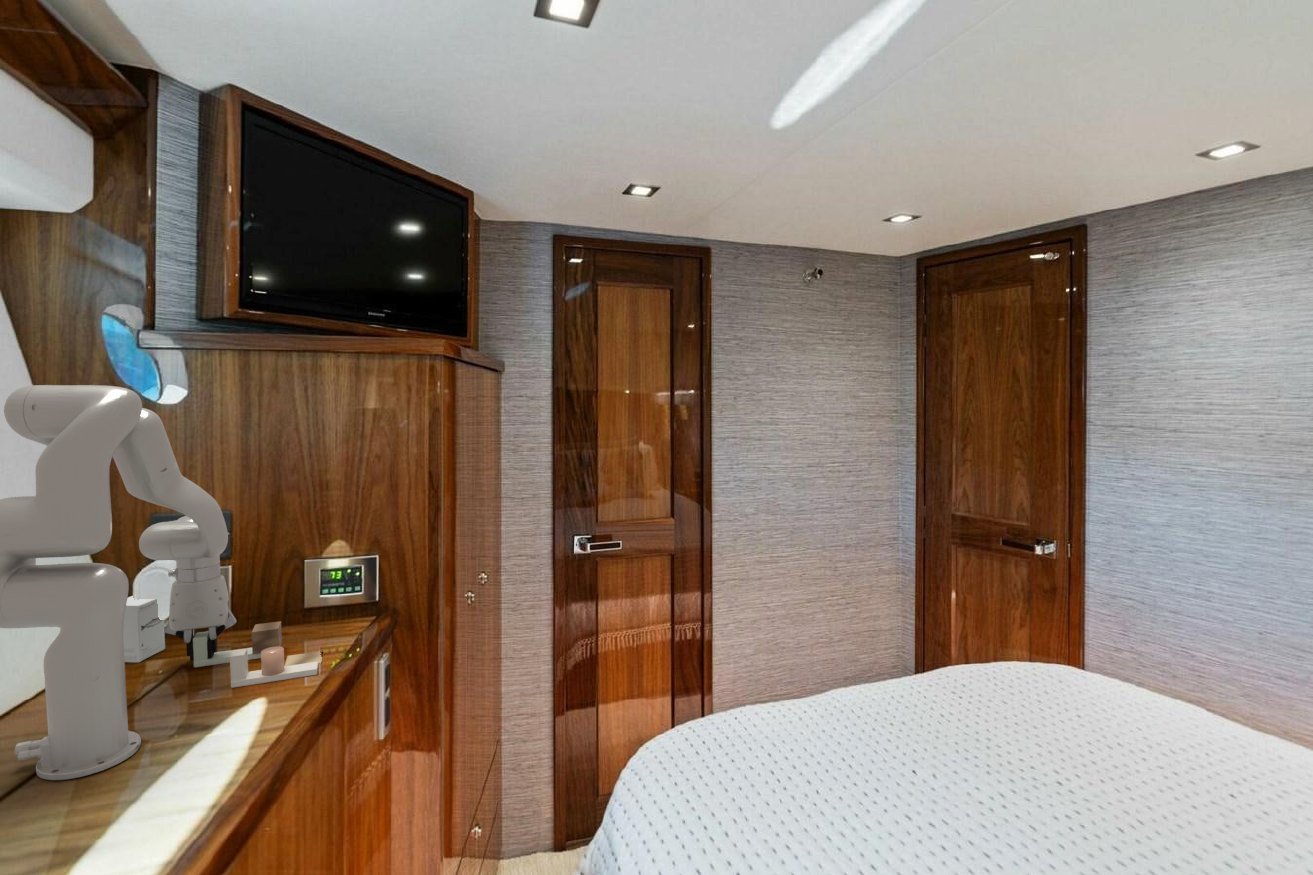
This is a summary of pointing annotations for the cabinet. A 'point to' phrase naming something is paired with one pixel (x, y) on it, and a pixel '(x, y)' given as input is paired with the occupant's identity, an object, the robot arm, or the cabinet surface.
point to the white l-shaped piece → (218, 657)
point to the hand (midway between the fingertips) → (202, 656)
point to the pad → (303, 658)
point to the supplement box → (142, 630)
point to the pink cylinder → (272, 661)
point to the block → (266, 636)
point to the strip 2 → (244, 677)
